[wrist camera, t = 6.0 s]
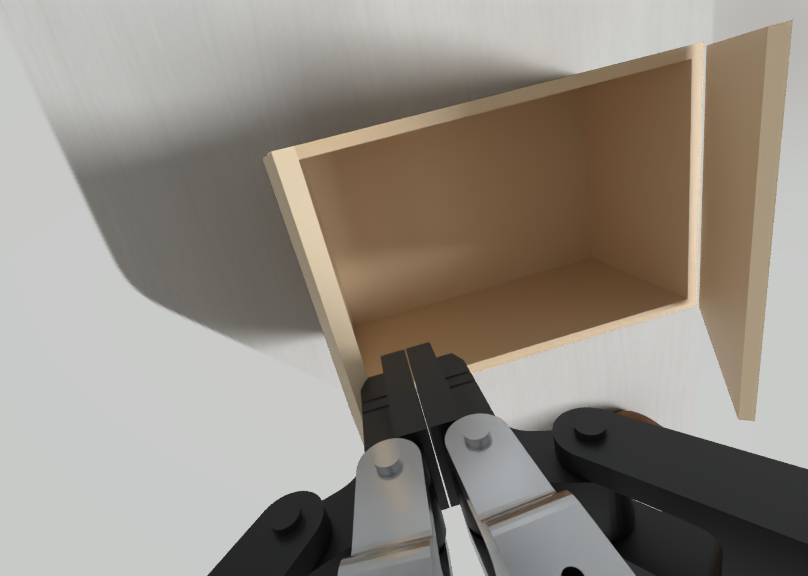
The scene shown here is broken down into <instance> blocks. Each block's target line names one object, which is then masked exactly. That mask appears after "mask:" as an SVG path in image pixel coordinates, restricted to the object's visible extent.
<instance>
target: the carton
mask: <svg viewBox="0 0 808 576" xmlns="http://www.w3.org/2000/svg"><path fill="white" fill-rule="evenodd" d="M703 48H704V42H701V43H697V44H693V45H689V46H685V47H681V48H677V49H673V50H669V51H665V52H662V53H658V54H654V55H650V56H646V57H642V58H638V59H634V60H630V61H626V62H622V63H618V64H614V65H610V66H607V67H603V68H599V69H595V70H591V71H587V72H583V73H579V74H575V75H571V76H567V77H563V78H559V79H555V80H552V81H548V82H544V83H540V84H536V85H532V86H528V87H524V88H520V89H516V90H512V91H508V92H504V93H500V94H497V95H493V96H489V97H485V98H481V99H477V100H473V101H469V102H465V103H461V104H457V105H453V106H449V107H445V108H442V109H438V110H434V111H430V112H426V113H422V114H418V115H414V116H410V117H406V118H402V119H398V120H394V121H390V122H387V123H383V124H379V125H375V126H371V127H367V128H363V129H359V130H355V131H351V132H347V133H343V134H339V135H335V136H332V137H328V138H324V139H320V140H316V141H312V142H308V143H304V144H300V145H296V146H294V147H295V150H296V153H297V156H298V160H299V163H300V166H301V169H302V172H303V175H304V178H305V182H306V185H307V188H308V191H309V194H310V197H311V200H312V204H313V207H314V210H315V213H316V216H317V219H318V222H319V226H320V229H321V232H322V235H323V238H324V241H325V244H326V247H327V251H328V254H329V257H330V260H331V263H332V266H333V269H334V273H335V276H336V279H337V282H338V285H339V288H340V291H341V295H342V298H343V301H344V304H345V307H346V310H347V313H348V317H349V320H350V323H351V326H352V329H353V332H354V335H355V339H356V342H357V345H358V348H359V351H360V354H361V357H362V360H363V364H364V367H365V370H366V373H367V376H368V377H371V376H375V375H378V374H382V373H383V369H382V363H381V357H380V356H382V355H386V354H389V353H393V352H396V351H400V350H403V349H404V350H405V354H406V357H407V360H408V364H409V367H410V371H411V374H412V377H413V373H412V370H411V366H410V363H409V359H408V355H407V352H406V348H410V347H413V346H417V345H420V344H423V343H427V342H430V344H431V346H432V349H433V351H434V353H435V355H436V357H440V356H443V355H447V354H450V353H453V354H454V355H456V356H458V357H460V358H461V359H463V360H464V361H465V363H466V365H467V367H468V368H469V370H470V373H474V372H478V371H481V370H484V369H487V368H491V367H494V366H497V365H501V364H504V363H507V362H511V361H514V360H517V359H521V358H524V357H527V356H530V355H534V354H537V353H540V352H544V351H547V350H550V349H554V348H557V347H560V346H564V345H567V344H570V343H574V342H577V341H580V340H583V339H587V338H590V337H593V336H597V335H600V334H603V333H607V332H610V331H613V330H617V329H620V328H623V327H626V326H630V325H633V324H636V323H640V322H643V321H646V320H650V319H653V318H656V317H660V316H663V315H666V314H670V313H673V312H676V311H679V310H683V309H686V308H689V307H693V306H696V305H697V273H698V235H699V198H700V160H701V123H702V85H703ZM269 153H270V152H269ZM269 153H268V154H269ZM413 381H414V377H413ZM414 384H415V381H414ZM415 388H416V384H415ZM416 390H417V388H416Z"/></svg>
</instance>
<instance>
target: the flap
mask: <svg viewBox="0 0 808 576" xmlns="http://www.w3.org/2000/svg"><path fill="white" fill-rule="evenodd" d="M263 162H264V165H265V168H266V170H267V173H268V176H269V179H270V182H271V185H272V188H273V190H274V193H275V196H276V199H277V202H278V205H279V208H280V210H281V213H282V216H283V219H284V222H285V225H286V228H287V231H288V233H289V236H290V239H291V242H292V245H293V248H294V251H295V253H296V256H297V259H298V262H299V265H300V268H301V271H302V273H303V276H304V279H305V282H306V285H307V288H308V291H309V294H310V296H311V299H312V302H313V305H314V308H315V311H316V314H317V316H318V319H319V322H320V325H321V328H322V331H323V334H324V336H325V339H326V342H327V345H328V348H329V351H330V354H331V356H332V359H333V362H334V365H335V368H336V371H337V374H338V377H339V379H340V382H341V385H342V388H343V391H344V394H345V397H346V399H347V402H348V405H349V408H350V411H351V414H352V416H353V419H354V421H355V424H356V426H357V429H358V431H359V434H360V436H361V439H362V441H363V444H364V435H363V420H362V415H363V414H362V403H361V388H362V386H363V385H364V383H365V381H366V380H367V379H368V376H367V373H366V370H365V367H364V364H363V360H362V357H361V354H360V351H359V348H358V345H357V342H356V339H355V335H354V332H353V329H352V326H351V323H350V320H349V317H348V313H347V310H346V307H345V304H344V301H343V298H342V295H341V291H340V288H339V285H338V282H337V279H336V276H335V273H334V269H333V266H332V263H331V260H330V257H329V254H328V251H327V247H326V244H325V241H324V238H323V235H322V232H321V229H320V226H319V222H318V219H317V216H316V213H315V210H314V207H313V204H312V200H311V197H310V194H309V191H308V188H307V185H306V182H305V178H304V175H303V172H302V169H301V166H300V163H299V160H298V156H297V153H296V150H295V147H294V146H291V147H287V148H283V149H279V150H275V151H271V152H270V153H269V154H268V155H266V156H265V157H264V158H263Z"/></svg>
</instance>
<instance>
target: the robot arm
mask: <svg viewBox="0 0 808 576" xmlns="http://www.w3.org/2000/svg"><path fill="white" fill-rule="evenodd" d="M406 352H407V355H408V359H409V363H410V366H411V370H412V373H413V377H414V381H415V384H416V388H417V391H416V388H415V384H414V381H413V377H412V374H411V371H410V367H409V364H408V360H407V357H406V354H405V350H404V349H403V350H400V351H396V352H393V353H389V354H386V355H382V356H380V357H381V363H382V369H383V373H382V374H378V375H375V376H371V377H368V379H367V380H366V381H365V383H364V385H363V386H362V388H361V403H362V414H363V415H362V420H363V435H364V450H365V453H364V454H363V456H362V457H361V459H360V461H359V463H358V466H357V471H356V477H355V478H354V479H353V480H352V481H351V482H350V483H349V484H348V485H347V486H345V487H344V488H342V489H341V490H339V491H338V492H336V493H334V494H333V495H331V496H329V497H328V498H326V499H324V500H323V501H322V500H321V499H320V497H319V496H318V495H316V494H315V493H313V492H308V491H298V492H294V493H290V494H288V495H285V496H283V497H282V498H280V499H279V500H277V501H275V502H274V503H273V504H271V505H270V506H269V507H268V508H267V509H266V510H265V511H264V512H263V513H262V514H261V516H260V517H259V518H258V519H257V520H256V521H255V523H254V524H253V525H252V526H251V527H250V528H249V529H248V530H247V532H246V533H245V534H244V535H243V536H242V537H241V538H240V539H239V541H238V542H237V543H236V544H235V545H234V546H233V547H232V548H231V550H230V551H229V552H228V553H227V554H226V555H225V557H223V559H222V560H221V561H220V562H219V563H218V564H217V565H216V567H215V568H214V569H213V570H212V571H211V572H210V573H209V574H208V576H453V573H452V567H451V562H450V556H449V550H448V545H447V541H446V538H445V537H446V527H445V523H444V519H443V515H442V512H441V510H444V509H447V508H449V505H448V501H447V497H446V494H445V490H444V487H443V483H442V479H441V476H440V472H439V469H438V465H437V461H436V458H435V454H434V451H433V447H432V443H433V446H434V450H435V453H436V456H437V460H438V463H439V466H440V470H441V473H442V477H443V480H444V483H445V487H446V490H447V493H448V497H449V500H450V504H451V507H453V506H456V505H459V504H460V505H461V508H462V511H463V514H464V518H465V521H466V525H467V529H468V532H469V536H470V539H471V542H472V544H473V547H474V549H475V551H476V554H477V556H478V559H479V561H480V564H481V566H482V568H483V571H484V573H485V576H808V469H805V468H801V467H798V466H795V465H791V464H788V463H784V462H781V461H777V460H774V459H770V458H767V457H763V456H760V455H756V454H753V453H749V452H746V451H743V450H739V449H736V448H732V447H729V446H726V445H722V444H719V443H715V442H712V441H708V440H705V439H702V438H698V437H695V436H691V435H688V434H684V433H681V432H677V431H674V430H671V429H667V428H664V427H660V426H657V425H653V424H650V423H646V422H643V421H640V420H636V419H633V418H629V417H626V416H622V415H619V414H615V413H612V412H609V411H605V410H601V409H597V408H577V409H572V410H569V411H567V412H565V413H563V414H562V415H560V416H559V417H558V418H557V419H556V420H555V422H554V424H553V431H521V430H516V429H513V428H510V427H509V426H508V425H507V424H506V423H505V422H504V421H503V420H502V419H500V418H498V417H497V416H495V415H494V413H493V411H492V410H491V408H490V406H489V404H488V403H487V401H486V399H485V397H484V395H483V394H482V392H481V390H480V388H479V386H478V385H477V383H476V382H475V379H474V377H473V376H472V374H471V373H470V370H469V368H468V367H467V365H466V363H465V361H464V360H463V359H461V358H460V357H458V356H456V355H454V354H453V353H450V354H447V355H443V356H440V357H436V355H435V353H434V351H433V349H432V346H431V344H430V342H427V343H423V344H420V345H417V346H413V347H410V348H406ZM417 392H418V395H419V398H418V395H417ZM419 399H420V401H419ZM420 402H421V405H420ZM421 406H422V408H421ZM422 409H423V412H422ZM423 413H424V415H423ZM424 416H425V419H426V422H425V419H424ZM426 423H427V425H426ZM427 426H428V429H429V432H428V429H427ZM429 433H430V436H431V440H432V443H431V440H430V436H429ZM635 500H637V501H639V502H637V501H635ZM640 502H642V503H644V504H642V503H640ZM645 504H647V505H649V506H651V507H654V508H656V509H658V510H656V509H654V508H651V507H649V506H647V505H645ZM659 510H661V511H663V512H661V511H659ZM664 512H666V513H668V514H666V513H664ZM669 514H670V515H669ZM671 515H673V516H675V517H673V516H671ZM676 517H678V518H680V519H678V518H676ZM681 519H682V520H681ZM683 520H685V521H687V522H685V521H683ZM688 522H690V523H692V524H694V525H692V524H690V523H688ZM695 525H696V526H695ZM697 526H699V527H697Z"/></svg>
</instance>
